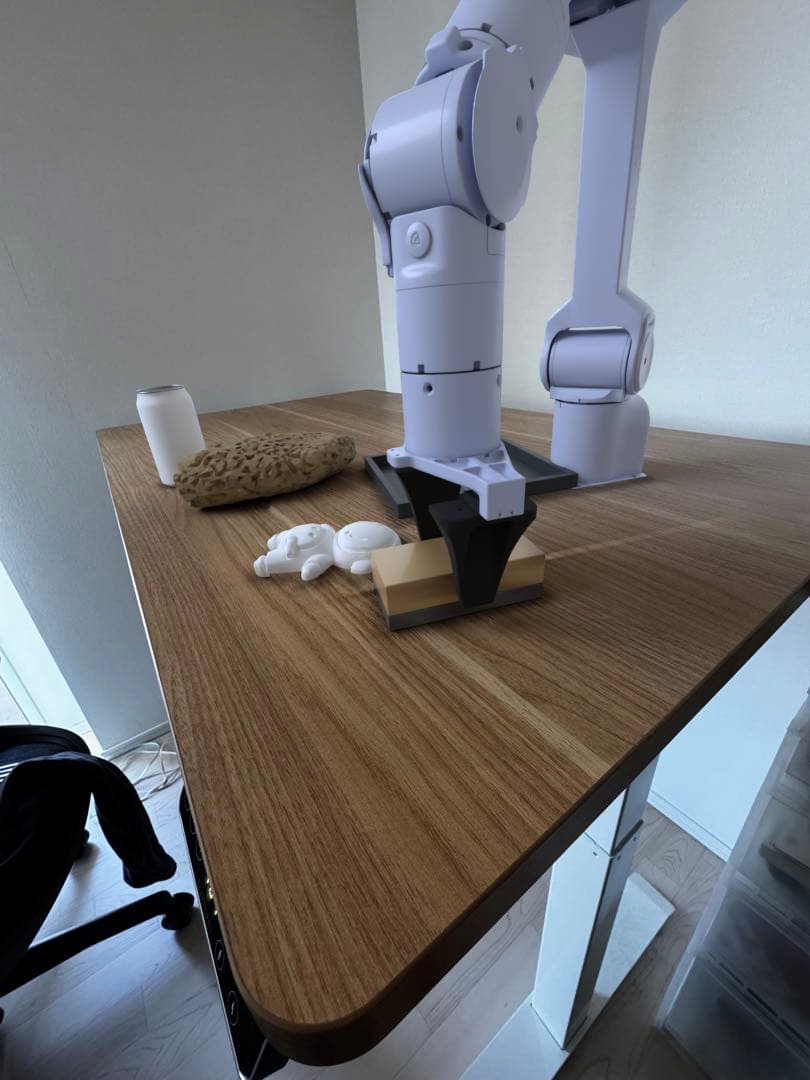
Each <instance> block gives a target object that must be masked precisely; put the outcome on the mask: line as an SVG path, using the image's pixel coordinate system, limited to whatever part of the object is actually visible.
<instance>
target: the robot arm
mask: <svg viewBox="0 0 810 1080" xmlns="http://www.w3.org/2000/svg"><path fill="white" fill-rule="evenodd" d="M688 1H689V0H460V1H459V2H458V4H457V6H456V7H455V9H454V11H453V13H452V15H451V16H450V18H449V19H448V22H447V24H446V26H445V27H444V28H443V29H442V30H440V31H438V32H436V33H434V34H433V35H432V37H431V39H430V40H429V42H428V44H427V45H426V47H425V50H424V56H425V63H424V65H423V66H422V68H421V70H420V71H419V73H418V75H417V77H416V79H415V81H414V84H413V86H412V87H411V88H409V89H406V90H404V91H401V92H399V93H397V94H395V95H392V96H389V97H388V98H386V99H385V100H384V101H383V102H382V103H381V104H380V106H379V107H378V109H377V111H376V113H375V115H374V118H373V122H372V124H371V126H370V127H369V129H368V132H367V134H366V138H365V143H364V150H363V163H359V164H358V165H357V171H358V178H359V183H360V189H361V192H362V196H363V199H364V202H365V204H366V208H367V210H368V212H369V215H370V218H371V219H372V222H373V223H374V225H375V227H376V230H377V234H378V236H379V241H380V247H381V259H382V266H383V267H384V266H385V268H386V269H385V270H386V274H387V276H388V277H389V278H392V279H393V287H394V301H395V314H396V315H395V316H396V318H395V319H396V330H397V344H398V345H397V346H398V358H399V370H400V373H399V374H400V385H401V401H402V413H403V428H404V442H403V445H402V446H397V447H393V448H389V449H387V450H386V453H387V461H388V462H389V463H390V464H391V467H392V469H393V470H394V472H395V474H396V475H397V477H398V479H399V480H400V482H401V484H402V486H403V488H404V491H405V493H406V495H407V498H408V500H409V503H410V506H411V509H412V513H413V516H414V517H413V519H414V523H415V527H416V531H417V534H418V538H419V540H420V541H425V540H430V539H435V538H441V537H444V540H445V543H446V546H447V549H448V552H449V556H450V560H451V565H452V572H453V578H454V584H455V589H456V593H457V596H458V599H459V601H460V604H461V605H462V607H463V608H465V609H467V608H472V607H476V606H481V605H485V604H489V603H493V601H494V599H495V596H496V593H497V590H498V587H499V584H500V581H501V578H502V575H503V572H504V570H505V567H506V564H507V562H508V559H509V557H510V555H511V553H512V551H513V549H514V547H515V546H516V544H517V542H518V541H519V539H520V538H521V536H522V535H524V534H525V532H526V531H527V529H528V528H529V527H530V526H531V524H533V522H534V521H535V520H536V519H537V515H538V504H537V503H536V502H535V501H533V500H532V499H530V498H529V497H528V496H527V497H526V496H525V479H526V478H525V477H523V476H522V475H520V474H519V473H518V472H517V471H516V470H515V469H514V467H513V465H512V463H511V461H510V458H509V456H508V453H507V451H506V449H505V446H504V444H503V442H502V441H501V440H500V437H501V425H502V424H501V421H502V420H501V419H502V391H503V390H502V386H503V385H502V384H503V383H502V382H503V351H504V350H503V345H504V311H505V310H504V309H505V276H506V275H505V273H506V271H505V270H506V241H507V240H506V237H507V225H506V224H507V223H510V222H511V221H513V220H514V219H515V218H516V217H517V215H518V214H519V212H520V210H521V209H522V208H523V207H524V206H525V203H526V200H527V196H528V192H529V188H530V181H531V175H532V174H531V173H532V163H533V152H534V147H535V144H536V142H537V139H538V129H539V119H538V115H537V114H538V113H539V109H540V108H541V105H542V103H543V102H544V99H545V97H546V95H547V93H548V91H549V89H550V87H551V85H552V83H553V80H554V79H555V76H556V74H557V72H558V70H559V67H560V66H561V63H562V61H563V59H564V56H565V55H567V56H569V57H574V58H577V59H580V60H581V62H582V64H583V67H584V70H585V78H584V79H585V80H584V96H583V111H582V125H581V126H582V127H581V142H580V143H581V144H580V161H579V178H578V191H577V192H578V194H577V210H576V227H575V241H574V242H575V244H574V260H573V274H572V275H573V276H572V291H571V297H570V298H569V299H568V300H566V302H565V303H563V304H562V305H561V306H560V307H559V308H558V309H557V310H555V312H554V313H553V314H551V315H550V316H549V318H548V320H547V321H546V325H545V327H544V328H545V329H544V339H543V345H542V348H541V352H540V358H539V369H538V370H539V379H540V382H541V384H542V386H543V387H544V389H545V391H547V392H548V393H549V399H550V400H554V405H553V406H554V407H553V419H552V431H551V444H550V445H551V446H550V455H549V457H550V459H549V460H551V461H552V462H553V463H554V464H556V465H558V466H562V467H566V468H568V469H570V470H572V471H574V472H576V473H578V483H577V487H574V488H571V489H570V490H575V489H581V488H588V487H593V486H594V487H595V486H599V485H604V484H611V483H616V482H621V481H627V480H633V479H638V478H644V477H645V478H647V474H646V473H643V472H642V470H643V466H644V465H643V464H644V459H645V454H646V448H647V443H648V436H649V431H650V425H651V413H650V412H651V411H650V408H649V405H648V403H647V401H646V400H645V398H643V397H642V396H641V395H640V394H638V393H639V392H641V390H643V389H644V387H645V386H646V384H647V382H648V378H649V375H650V372H651V368H652V364H653V360H654V359H653V358H654V353H655V352H654V351H655V334H654V333H655V324H656V323H655V322H656V314H655V310H654V308H653V306H652V305H650V304H649V303H648V302H647V301H646V300H644V299H643V298H642V297H640V296H639V295H638V294H637V293H636V292H634V291H632V290H631V289H630V288H629V287H628V280H629V271H630V264H631V263H630V262H631V254H632V253H631V252H632V247H633V246H632V245H633V238H634V237H633V236H634V229H635V228H634V227H635V220H636V210H637V204H638V203H637V201H638V194H639V184H640V176H641V166H642V159H643V152H644V142H645V133H646V125H647V124H646V123H647V117H648V108H649V107H648V106H649V99H650V91H651V82H652V81H651V80H652V75H653V69H654V64H655V61H656V60H655V59H656V56H657V51H658V47H659V42H660V37H661V33H662V30H663V28H664V27H665V26H666V25H667V24H668V23H669V22H670V21H671V19H673V17H675V15H676V14H677V13H678V12H679V11H680V10H681V9H682V8H683V7H684V6H685V5H686V4H687V3H688ZM603 327H604V328H603ZM605 327H607V328H605ZM608 327H610V328H608ZM611 327H612V328H611ZM580 328H582V329H580ZM583 328H584V329H583ZM585 328H587V329H585ZM461 486H462V487H463V488H464V489H465V490H466V491H464V501H463V500H461V499H460V500H458V498H459V493H460V489H461Z"/></svg>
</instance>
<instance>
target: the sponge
mask: <svg viewBox="0 0 810 1080" xmlns="http://www.w3.org/2000/svg"><path fill="white" fill-rule="evenodd" d="M356 456H357V450H356V442H355V440H354V439H353V438H351V437H349V436H346V435H343V434H340V433H335V432H331V431H301V432H294V431H293V432H291V431H290V432H278V433H270V432H268V433H265V434H261V435H257V436H251V437H249V438H246V439H243V440H242V441H234V442H232V443H229V444H227V443H224V442H221V443H217V444H215V445H213V446H211V447H210V448H208V449H206V450H203V451H201V452H199V453H194V454H193V455H191V456H188V457H183V458H182V459H181V460H180V462H179V463H178V467H179V468H178V473H177V474H174V476H173V480H174V483H175V487H174V488H175V489H176V492H177V494H179V496H181V498H182V500H183V501H184V502H185V503H186V504H187V505H188V506H189V507H191V508H199V509H201V508H202V509H203V508H209V507H216V506H224V505H229V504H236V503H239V502H243V501H247V500H248V501H249V500H250V501H251V500H256V499H258V498H261V497H262V498H264V497H266V498H267V497H268V498H269V497H272V496H276V495H281V494H289V493H293V492H296V491H298V490H301V489H305V488H307V487H311V486H313V485H316V484H317V483H319V482H321V481H323V480H325V479H327V478H329V477H332V476H333V475H336V474H338V473H340V472H341V471H343V470H344V469H346V468H347V467H348V465H350V464H352V463H353V462H354V460H355V458H356Z"/></svg>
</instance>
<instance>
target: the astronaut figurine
mask: <svg viewBox="0 0 810 1080" xmlns="http://www.w3.org/2000/svg"><path fill="white" fill-rule="evenodd" d="M398 545H402V541H401V539H400V537H399V535H398V534H397V533H396V531H394V530H393V529H392V528H390V527H388V526H387V525H385V524H383V523H381V522H375V521H367V520H366V521H365V520H362V521H361V520H360V521H355V522H352V523H349V524H347V525H345V526H344V527H343V528H341V529H340V530H337V531H336V530H335V528H333V526H331V525H330V524H328V523H322V524H318V523H307V524H300V525H297V526H293V527H292V528H290V529H286V530H283V531H281V532H279V533H276V534H274V535H272V536H271V537H270V538H269V539H268V540H267V545H266V546H267V549H268V550H269V551H268V552H266V555H263V554H262V555H260V556H259V557H258V558H257V559H256V560H255V561H254V562H253V568H254V572H255V574H256V575H257V576H258V577H260V578H271V574H289V573H300V572H301V575H300V576H301V580H302V581H305V582H309V581H312V580H315V579H316V578H318V577H319V576H320V575H322V574H323V573H325V572H326V570H328V569H329V568H330V567H331V566H335V567H338V568H341V569H346V570H349V569H350V572H351V573H352V574H354V575H369V574H372V567H371V559H370V551H372V550H377V549H382V548H388V547H393V546H398Z"/></svg>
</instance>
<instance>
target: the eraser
mask: <svg viewBox="0 0 810 1080" xmlns="http://www.w3.org/2000/svg"><path fill="white" fill-rule="evenodd" d="M370 559H371V567H372V573H371V575H372V584H373V588H374V589H373V591H374V595H375V596H376V599H377V602H378V604H379V607H380V610H381V612H382V615H383V618H384V621H385V622H386V626H387V628H388V630H389V632H395V631H399V630H403V629H407V628H411V627H416V626H421V625H423V624H424V625H426V624H429V623H434V622H439V621H442V620H447V619H452V618H455V617H459V616H465V615H468V614H473V613H477V612H483V611H485V610H490V609H491V610H492V609H494V608H500V607H503V606H508V605H513V604H515V603H521V602H525V601H530V600H535V599H537V598H539V599H540V598H542V597H543V590H544V577H545V563H546V553H545V552H544V551H543V550H542V549H541V548H540V547H538V545H536V544H535V543H534V542H533V541H531V539H529V538H528V537H527V536H526V535H524V534H523V535H522V536H521V538H520V539H519V541H518V542H517V544H516V546H515V547H514V549H513V551H512V553H511V555H510V557H509V559H508V562H507V564H506V567H505V570H504V572H503V575H502V578H501V581H500V584H499V587H498V590H497V593H496V596H495V599H494V601H493V603H489V604H485V605H481V606H476V607H472V608H467V609H465V608H463V607H462V605H461V604H460V601H459V599H458V596H457V593H456V589H455V584H454V578H453V572H452V565H451V560H450V556H449V552H448V549H447V546H446V543H445V540H444V537H441V538H435V539H430V540H425V541H415V542H409V543H405V544H401V545H398V546H393V547H388V548H382V549H377V550H372V551H370Z"/></svg>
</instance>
